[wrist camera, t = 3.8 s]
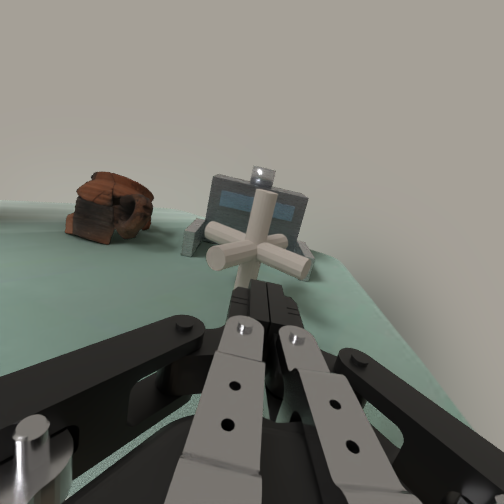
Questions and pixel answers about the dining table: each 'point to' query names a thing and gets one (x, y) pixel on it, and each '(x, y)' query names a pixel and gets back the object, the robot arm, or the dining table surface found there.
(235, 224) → the grey boxy knob-topped device
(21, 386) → the robot arm
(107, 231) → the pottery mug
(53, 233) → the dining table surface
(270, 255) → the pipe connector
